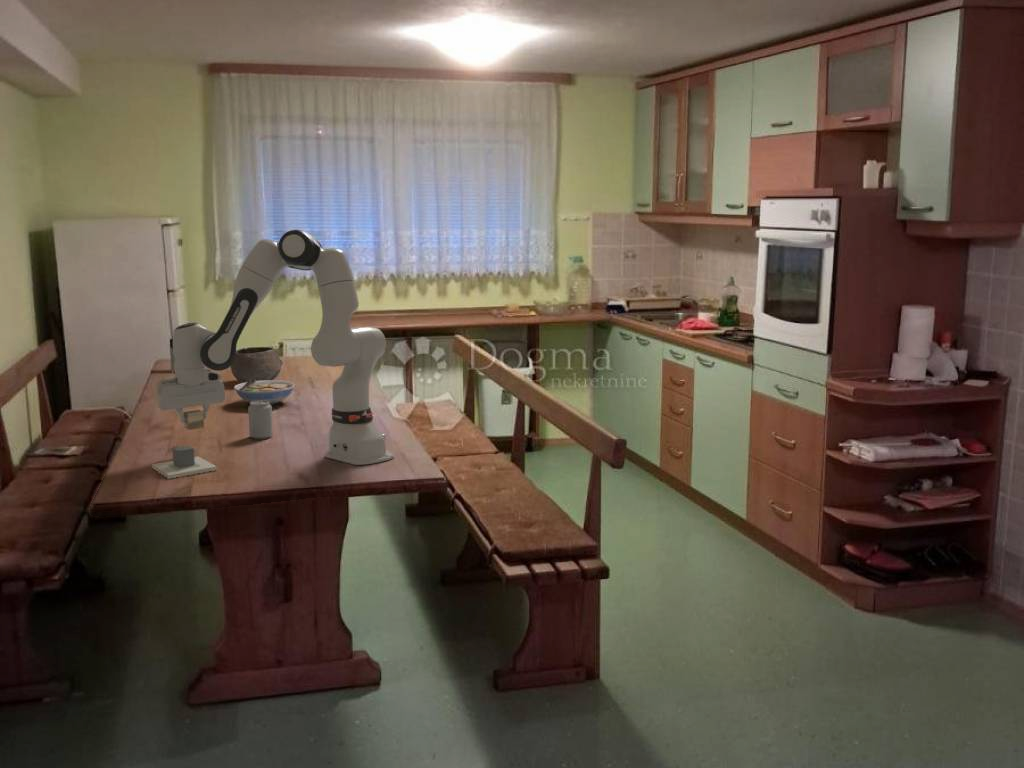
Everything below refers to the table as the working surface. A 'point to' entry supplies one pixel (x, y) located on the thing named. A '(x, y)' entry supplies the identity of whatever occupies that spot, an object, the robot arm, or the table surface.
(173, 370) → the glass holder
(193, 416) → the birch block
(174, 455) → the grey block
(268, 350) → the clay pot
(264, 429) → the can
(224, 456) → the table surface
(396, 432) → the table surface
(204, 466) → the build board
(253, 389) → the ramen bowl
